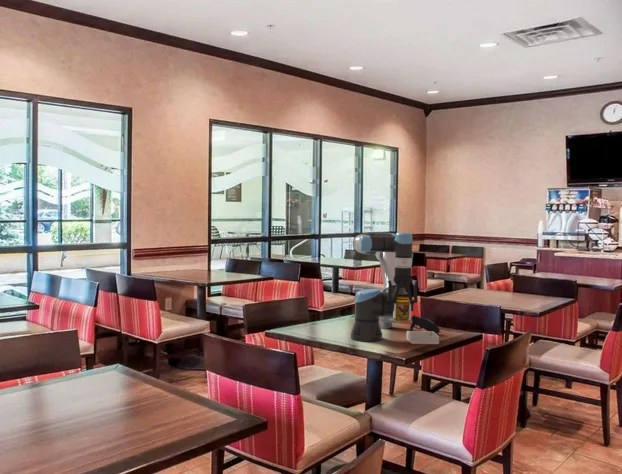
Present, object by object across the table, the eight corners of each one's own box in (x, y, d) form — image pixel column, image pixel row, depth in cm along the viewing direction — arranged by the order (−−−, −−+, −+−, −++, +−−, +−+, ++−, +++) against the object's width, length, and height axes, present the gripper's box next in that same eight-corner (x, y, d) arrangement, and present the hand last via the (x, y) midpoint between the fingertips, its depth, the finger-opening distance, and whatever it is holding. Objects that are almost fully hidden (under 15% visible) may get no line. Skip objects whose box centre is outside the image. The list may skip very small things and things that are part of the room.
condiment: (403, 322, 260) (404, 295, 259) (388, 319, 265) (388, 293, 265) (413, 320, 265) (413, 294, 264) (397, 317, 271) (398, 291, 270)
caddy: (410, 343, 271) (411, 336, 271) (406, 338, 283) (406, 330, 283) (438, 344, 272) (439, 336, 271) (433, 338, 284) (433, 331, 283)
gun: (434, 345, 293) (443, 328, 293) (405, 330, 293) (415, 312, 293) (432, 344, 296) (442, 327, 296) (404, 329, 296) (414, 312, 296)
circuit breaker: (396, 330, 302) (397, 301, 302) (371, 327, 310) (372, 298, 309) (402, 328, 309) (403, 299, 308) (377, 324, 316) (378, 297, 316)
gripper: (383, 267, 260) (381, 319, 261) (426, 268, 260) (424, 320, 262) (380, 265, 268) (379, 316, 269) (422, 266, 268) (421, 316, 269)
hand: (401, 317), depth 265 cm, fingers closed on condiment, 6 cm apart
